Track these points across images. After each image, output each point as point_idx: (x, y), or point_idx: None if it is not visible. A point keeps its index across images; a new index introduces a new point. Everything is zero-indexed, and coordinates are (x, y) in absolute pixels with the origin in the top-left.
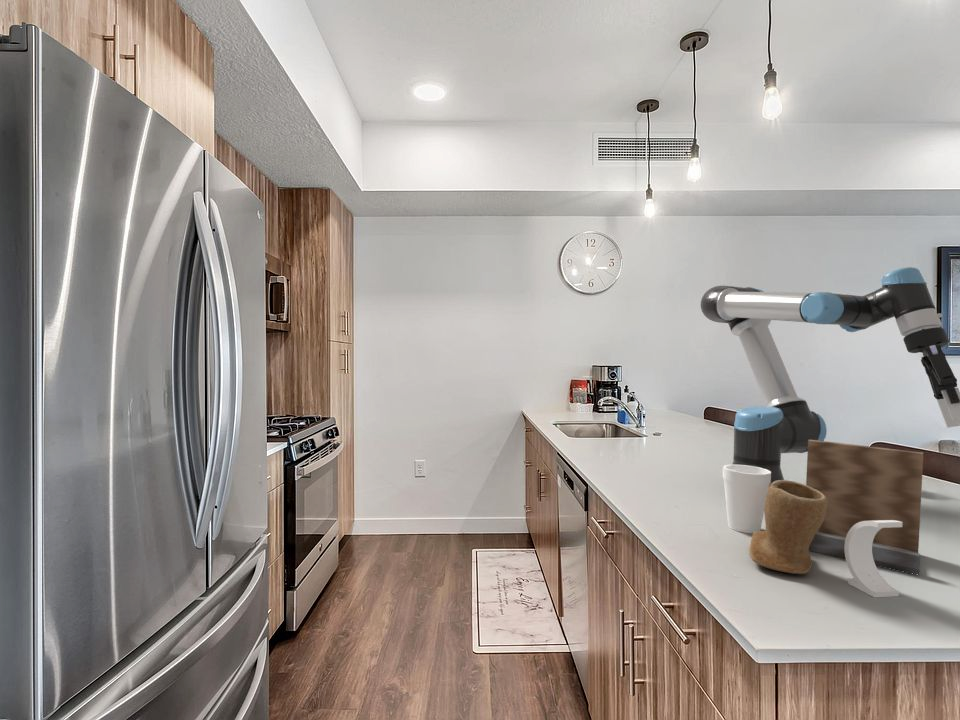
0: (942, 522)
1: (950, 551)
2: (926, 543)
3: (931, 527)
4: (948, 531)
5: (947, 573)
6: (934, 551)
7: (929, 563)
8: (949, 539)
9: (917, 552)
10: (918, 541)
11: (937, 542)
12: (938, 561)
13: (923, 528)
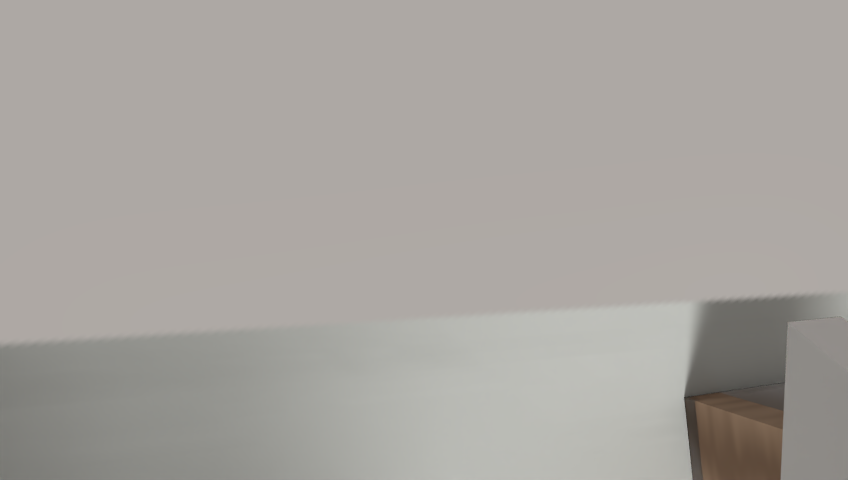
0: (40, 377)
1: (551, 313)
2: (511, 391)
3: (204, 406)
4: (218, 342)
5: (816, 304)
6: (600, 357)
7: (758, 355)
8: (366, 328)
9: (740, 396)
10: (755, 403)
11: (459, 360)
12: (712, 335)
13: (258, 430)
